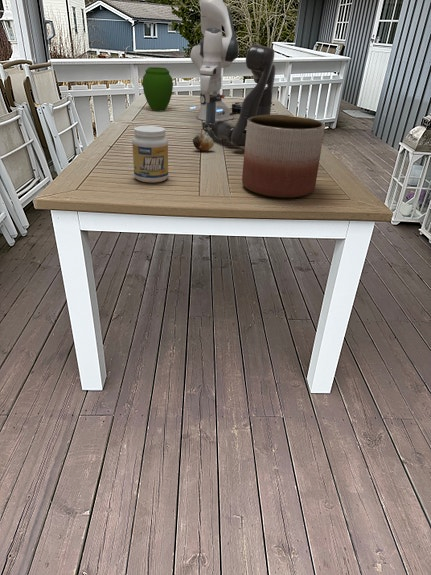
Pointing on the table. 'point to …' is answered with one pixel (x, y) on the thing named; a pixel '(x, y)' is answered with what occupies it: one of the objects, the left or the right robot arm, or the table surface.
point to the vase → (157, 88)
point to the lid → (213, 99)
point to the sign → (237, 107)
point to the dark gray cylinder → (210, 116)
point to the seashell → (203, 142)
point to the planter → (282, 155)
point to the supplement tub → (150, 154)
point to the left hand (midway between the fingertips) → (210, 101)
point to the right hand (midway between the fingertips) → (207, 123)
